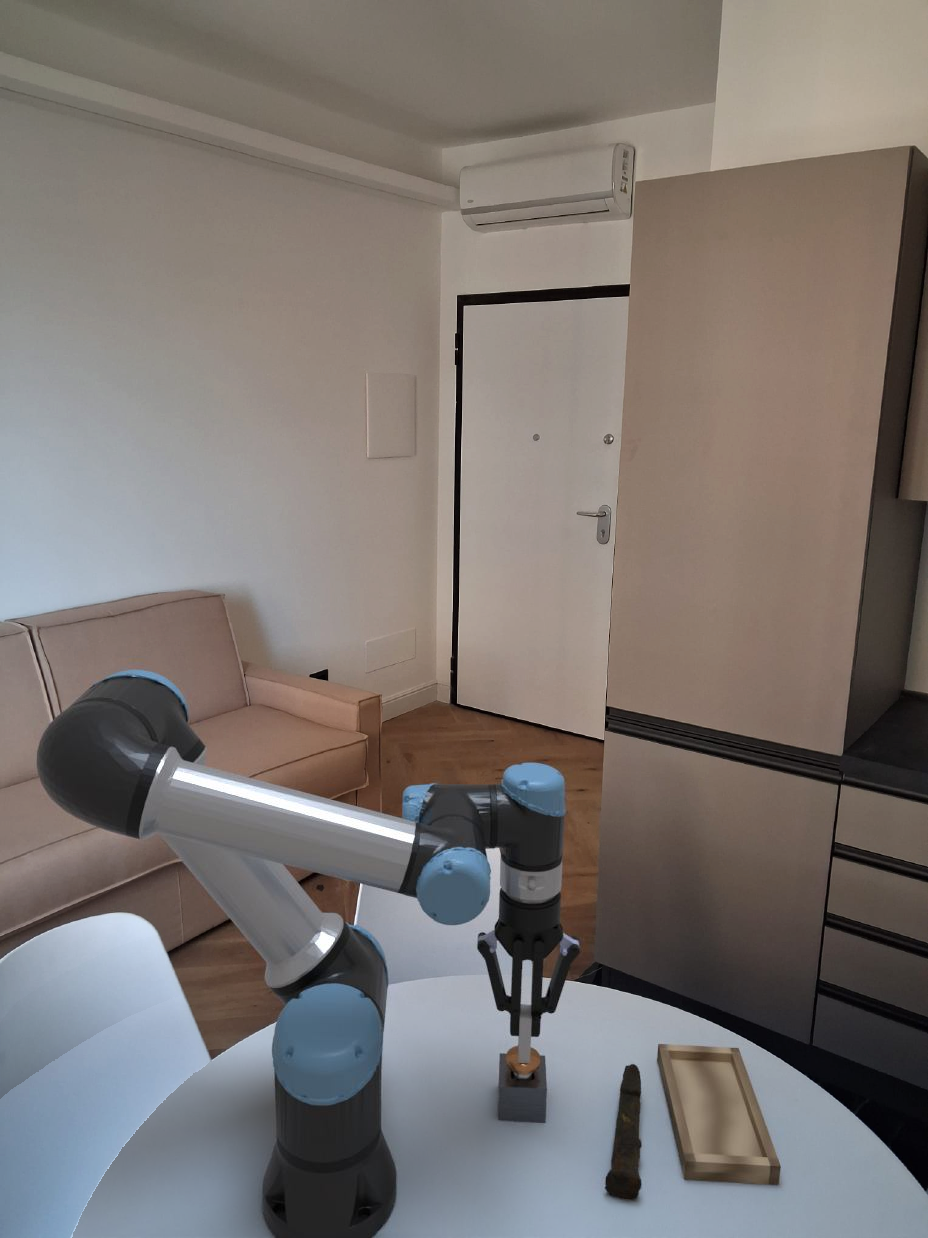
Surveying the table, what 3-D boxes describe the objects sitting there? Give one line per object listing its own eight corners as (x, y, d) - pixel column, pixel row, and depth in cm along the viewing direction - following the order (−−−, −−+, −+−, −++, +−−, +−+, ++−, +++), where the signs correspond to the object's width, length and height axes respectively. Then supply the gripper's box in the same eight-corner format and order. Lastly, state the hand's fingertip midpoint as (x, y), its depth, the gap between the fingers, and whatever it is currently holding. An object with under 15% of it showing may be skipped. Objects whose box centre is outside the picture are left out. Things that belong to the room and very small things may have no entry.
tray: (683, 1179, 106) (685, 1161, 106) (657, 1060, 126) (658, 1044, 125) (778, 1185, 106) (780, 1166, 105) (736, 1064, 125) (738, 1048, 124)
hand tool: (639, 1207, 103) (642, 1173, 102) (603, 1198, 104) (606, 1164, 103) (652, 1090, 120) (655, 1060, 119) (622, 1084, 121) (624, 1054, 120)
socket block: (497, 1120, 114) (499, 1086, 113) (498, 1085, 120) (499, 1053, 119) (545, 1123, 114) (546, 1089, 113) (543, 1088, 120) (545, 1055, 119)
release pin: (504, 1114, 115) (505, 1068, 114) (504, 1089, 119) (506, 1044, 118) (538, 1116, 115) (541, 1070, 113) (537, 1091, 119) (539, 1046, 118)
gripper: (475, 903, 107) (471, 1074, 112) (586, 908, 106) (577, 1079, 112) (478, 871, 114) (474, 1033, 119) (581, 875, 113) (572, 1038, 119)
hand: (523, 1055), depth 115 cm, fingers closed
